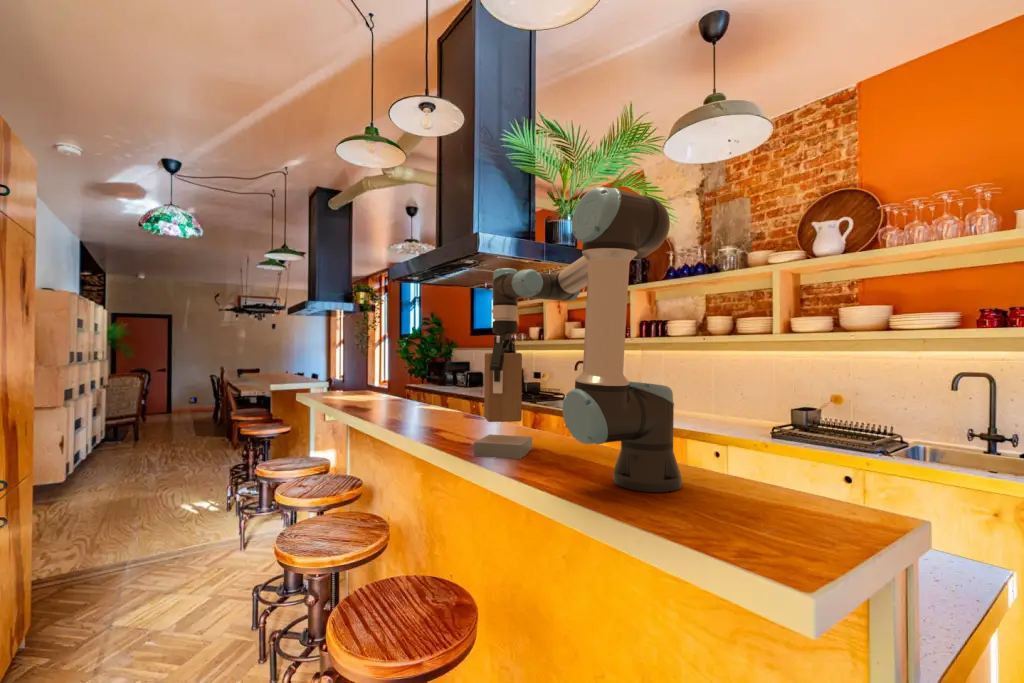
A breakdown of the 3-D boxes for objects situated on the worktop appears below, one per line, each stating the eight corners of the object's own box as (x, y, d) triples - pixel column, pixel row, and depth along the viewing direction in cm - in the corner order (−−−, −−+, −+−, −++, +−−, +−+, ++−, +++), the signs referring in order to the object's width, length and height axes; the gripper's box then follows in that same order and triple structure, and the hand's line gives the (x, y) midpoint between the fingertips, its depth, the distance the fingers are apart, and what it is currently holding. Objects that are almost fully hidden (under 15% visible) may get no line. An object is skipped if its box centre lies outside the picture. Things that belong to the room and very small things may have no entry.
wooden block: (484, 417, 144) (484, 352, 145) (515, 417, 146) (516, 353, 146) (487, 422, 134) (488, 352, 135) (521, 421, 136) (522, 353, 137)
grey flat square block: (520, 459, 131) (520, 445, 131) (473, 456, 135) (474, 442, 135) (532, 449, 145) (532, 436, 145) (489, 447, 148) (489, 434, 149)
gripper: (504, 323, 154) (504, 388, 153) (479, 317, 130) (478, 394, 130) (526, 322, 152) (526, 388, 151) (505, 317, 128) (504, 395, 128)
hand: (504, 391), depth 140 cm, fingers closed on wooden block, 12 cm apart
